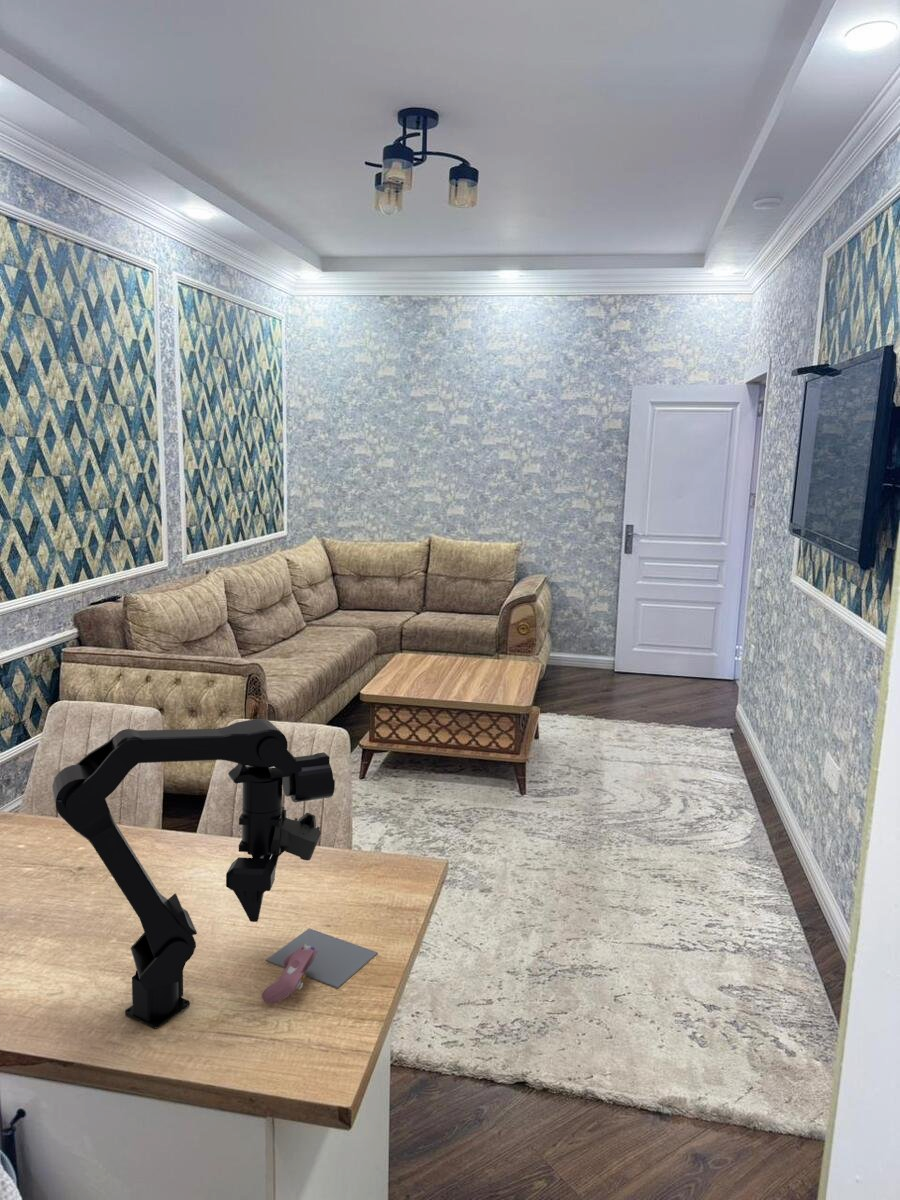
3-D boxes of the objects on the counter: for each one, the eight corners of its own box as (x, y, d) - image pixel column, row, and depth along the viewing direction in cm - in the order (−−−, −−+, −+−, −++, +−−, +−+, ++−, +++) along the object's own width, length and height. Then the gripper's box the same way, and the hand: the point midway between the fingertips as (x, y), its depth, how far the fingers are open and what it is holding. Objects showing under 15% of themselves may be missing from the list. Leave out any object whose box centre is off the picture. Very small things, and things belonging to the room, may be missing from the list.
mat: (337, 988, 128) (337, 987, 128) (266, 960, 134) (266, 959, 134) (377, 953, 137) (378, 952, 137) (309, 929, 144) (309, 928, 144)
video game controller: (283, 1018, 123) (304, 982, 121) (257, 1001, 123) (277, 965, 122) (308, 977, 132) (327, 944, 131) (283, 961, 133) (302, 928, 131)
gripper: (307, 834, 115) (304, 941, 118) (325, 785, 134) (323, 878, 136) (225, 831, 115) (224, 938, 117) (254, 782, 134) (253, 875, 136)
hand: (260, 905), depth 127 cm, fingers open, 9 cm apart
